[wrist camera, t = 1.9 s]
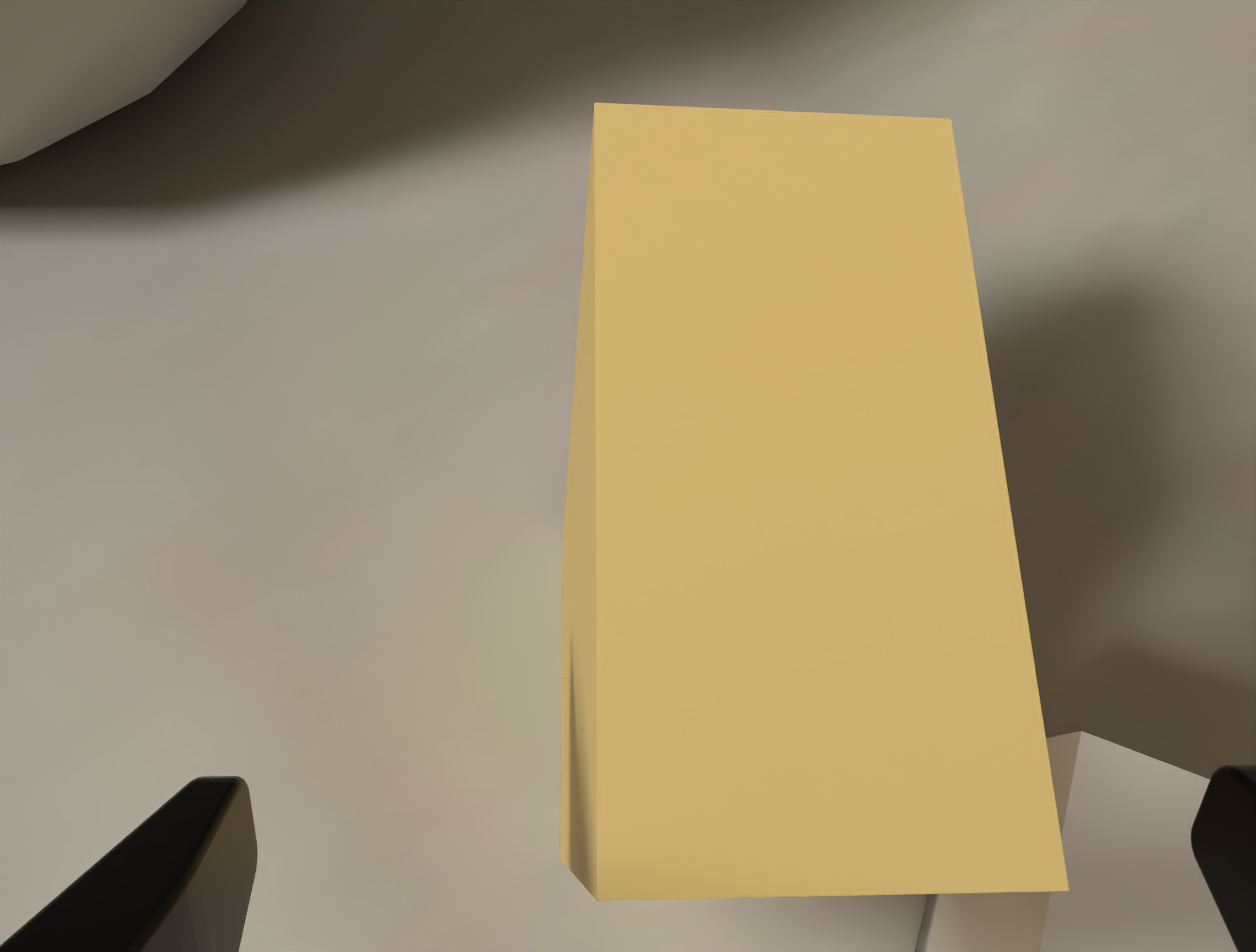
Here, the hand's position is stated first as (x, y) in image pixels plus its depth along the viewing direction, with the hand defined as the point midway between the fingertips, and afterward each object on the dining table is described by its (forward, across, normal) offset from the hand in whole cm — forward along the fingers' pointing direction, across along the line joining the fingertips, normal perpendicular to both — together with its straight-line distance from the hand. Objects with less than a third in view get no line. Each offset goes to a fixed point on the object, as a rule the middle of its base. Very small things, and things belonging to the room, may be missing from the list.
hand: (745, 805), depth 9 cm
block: (+8, 0, +5) cm, 10 cm away
